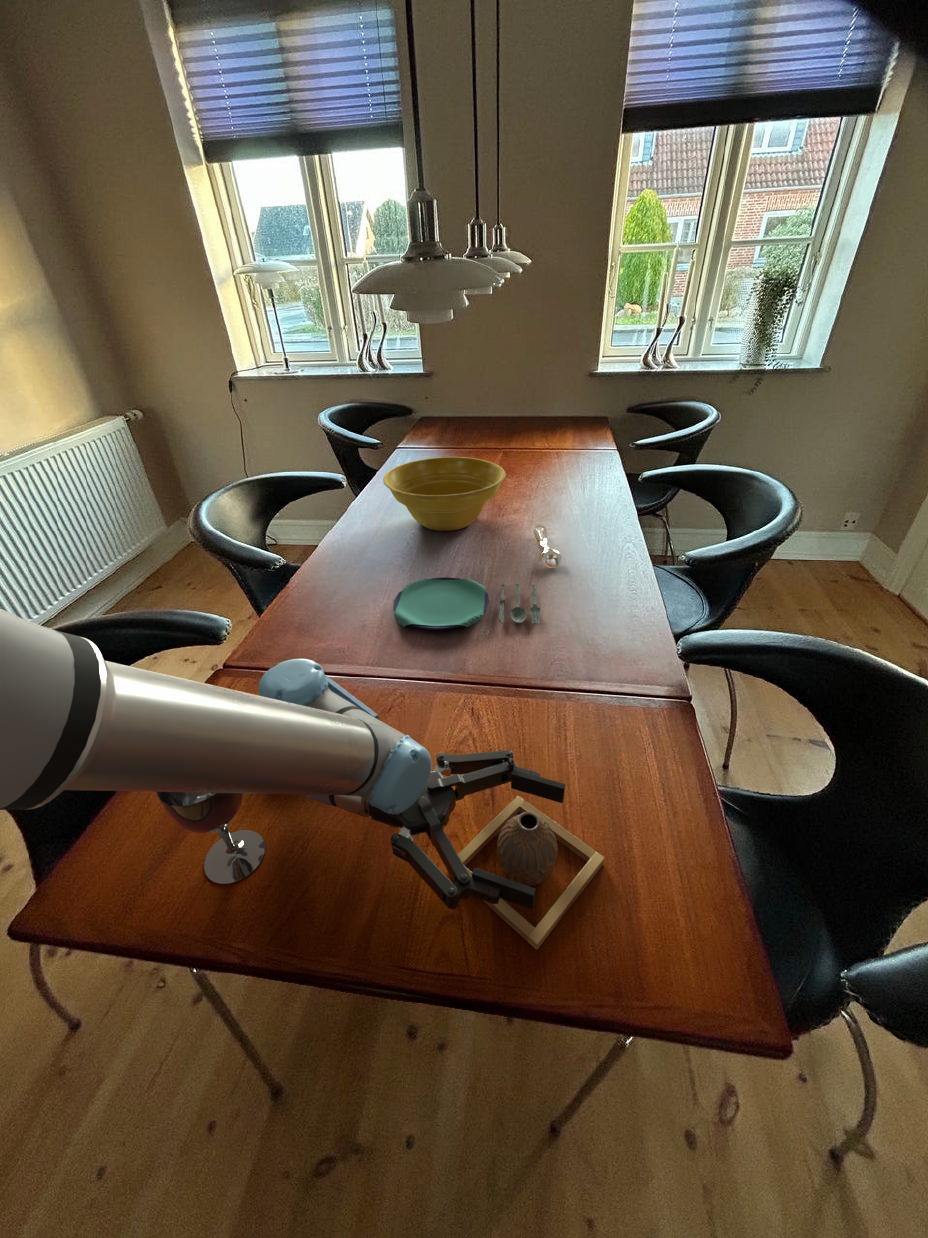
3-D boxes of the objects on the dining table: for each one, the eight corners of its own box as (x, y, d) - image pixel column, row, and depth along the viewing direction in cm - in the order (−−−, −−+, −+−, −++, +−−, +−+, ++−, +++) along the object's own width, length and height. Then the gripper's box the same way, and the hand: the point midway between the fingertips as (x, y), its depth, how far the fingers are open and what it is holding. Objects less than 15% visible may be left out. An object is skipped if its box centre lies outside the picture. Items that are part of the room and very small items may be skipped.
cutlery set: (402, 584, 119) (401, 575, 117) (537, 585, 116) (537, 575, 115) (385, 635, 102) (384, 626, 101) (541, 638, 100) (542, 628, 99)
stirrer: (530, 518, 137) (548, 517, 137) (529, 530, 139) (547, 529, 139) (543, 557, 121) (564, 556, 121) (542, 571, 123) (562, 570, 123)
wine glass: (185, 876, 63) (137, 795, 54) (229, 820, 69) (193, 740, 61) (241, 896, 61) (200, 814, 52) (281, 836, 67) (251, 755, 58)
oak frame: (536, 950, 55) (537, 945, 54) (448, 869, 62) (447, 864, 62) (603, 863, 62) (604, 857, 62) (517, 801, 70) (518, 795, 69)
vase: (505, 833, 66) (506, 788, 61) (560, 849, 64) (566, 803, 59) (489, 884, 61) (489, 839, 56) (548, 903, 59) (553, 858, 54)
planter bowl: (405, 498, 163) (400, 454, 155) (510, 501, 158) (510, 456, 150) (373, 544, 136) (366, 494, 129) (498, 549, 131) (498, 497, 124)
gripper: (426, 738, 77) (571, 778, 70) (330, 898, 58) (516, 975, 51) (422, 700, 73) (576, 738, 66) (317, 859, 54) (518, 937, 47)
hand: (550, 842), depth 58 cm, fingers open, 13 cm apart
